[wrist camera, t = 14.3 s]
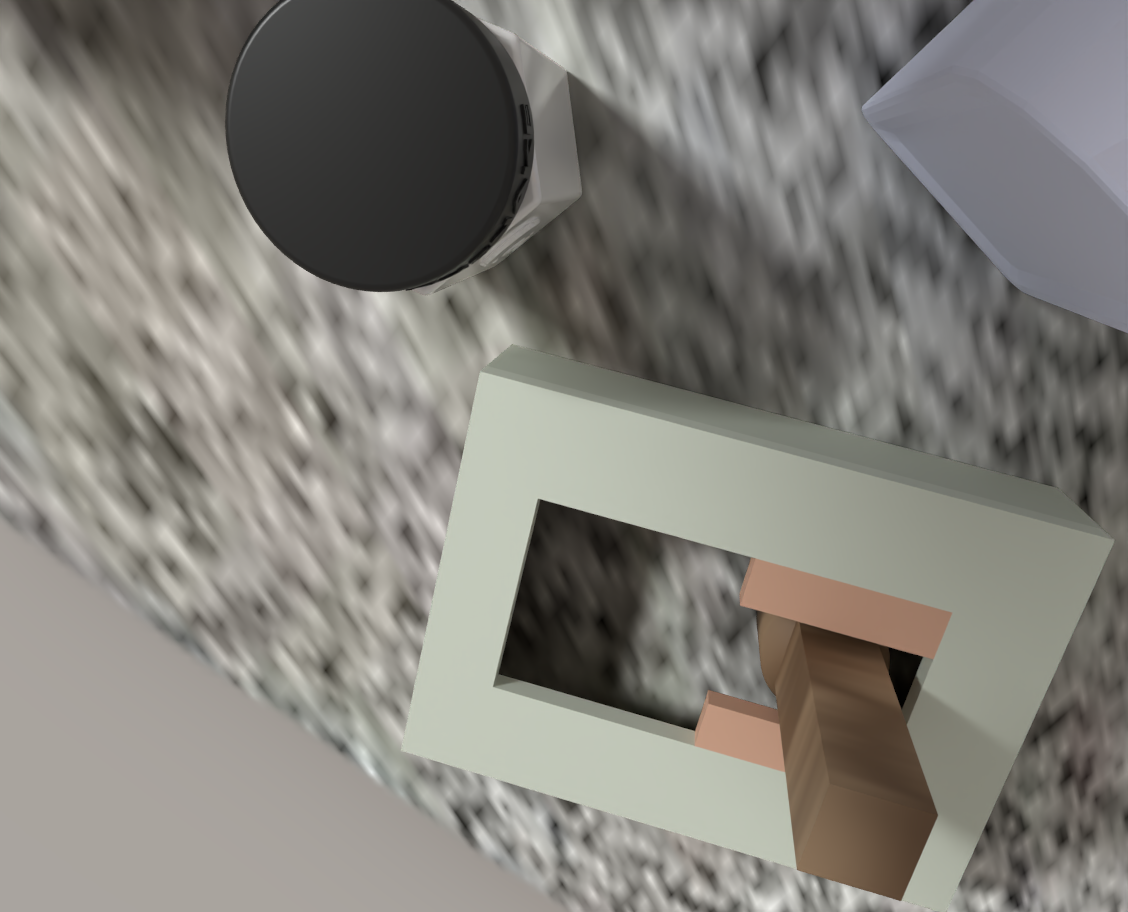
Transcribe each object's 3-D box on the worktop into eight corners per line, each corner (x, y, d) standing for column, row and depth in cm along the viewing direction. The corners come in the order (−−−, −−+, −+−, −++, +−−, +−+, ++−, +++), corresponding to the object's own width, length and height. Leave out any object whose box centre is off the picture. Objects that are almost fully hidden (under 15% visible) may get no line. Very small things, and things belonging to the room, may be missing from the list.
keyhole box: (438, 680, 43) (400, 750, 38) (511, 344, 38) (480, 371, 33) (916, 820, 42) (945, 913, 36) (1058, 488, 37) (1115, 540, 31)
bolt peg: (742, 652, 41) (756, 885, 27) (775, 552, 39) (807, 747, 26) (853, 683, 40) (921, 935, 27) (890, 583, 39) (983, 798, 25)
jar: (455, 305, 38) (345, 362, 27) (324, 138, 37) (152, 123, 26) (633, 161, 36) (595, 157, 24) (498, -23, 34) (393, -120, 23)
